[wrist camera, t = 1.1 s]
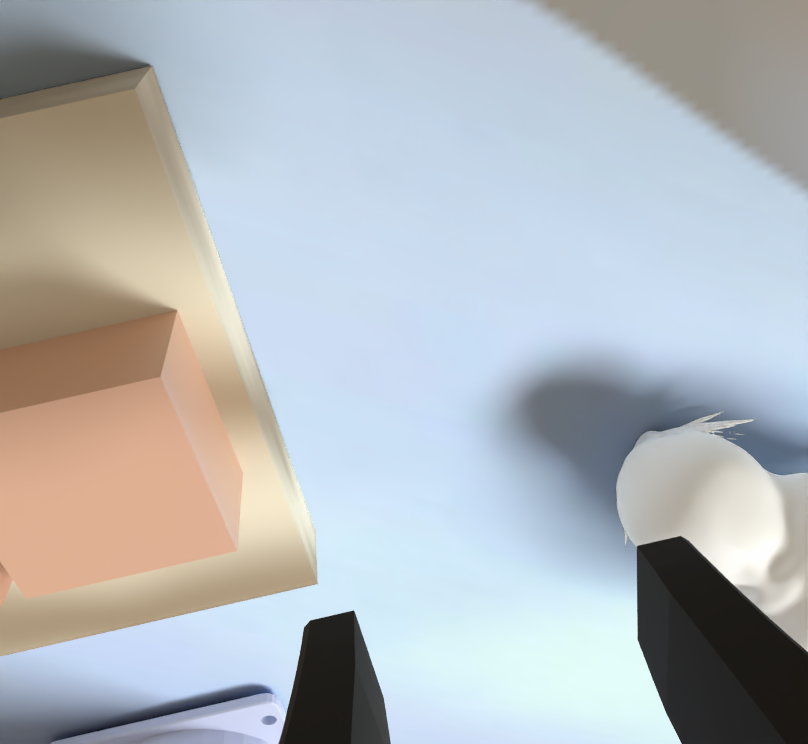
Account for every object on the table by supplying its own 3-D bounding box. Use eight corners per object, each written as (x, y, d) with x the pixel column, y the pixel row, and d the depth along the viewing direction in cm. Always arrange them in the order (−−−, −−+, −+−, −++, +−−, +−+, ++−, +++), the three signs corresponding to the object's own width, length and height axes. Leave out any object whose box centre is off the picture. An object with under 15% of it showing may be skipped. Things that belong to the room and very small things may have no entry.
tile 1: (243, 473, 18) (237, 551, 16) (57, 515, 18) (26, 598, 16) (177, 310, 15) (160, 376, 13) (-40, 358, 15) (-91, 433, 13)
